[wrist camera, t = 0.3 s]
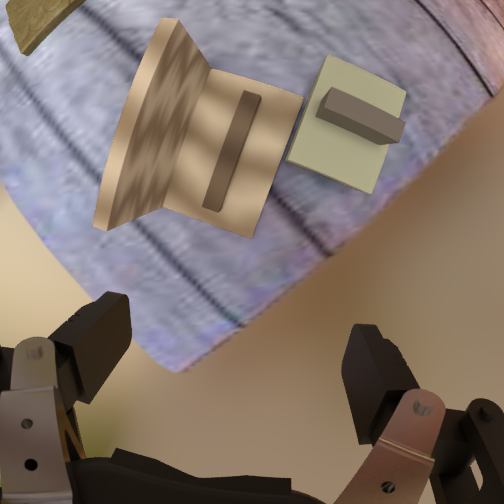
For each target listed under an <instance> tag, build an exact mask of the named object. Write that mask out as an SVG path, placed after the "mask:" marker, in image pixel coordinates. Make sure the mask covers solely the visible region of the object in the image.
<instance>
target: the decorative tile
mask: <svg viewBox="0 0 504 504" xmlns="http://www.w3.org/2000/svg"><path fill="white" fill-rule="evenodd" d="M84 1H86V0H10V1H9V2H8V3H7V4H6V10H7V14H8V17H9V19H8V20H9V24H10V27H11V29H12V31H13V33H14V38H15V41H16V43H17V44H18V47H19V50H20V52H21V54H24V55H26V56H29V55H30V54H31V53H32V52H33V51H34V50H35V49H36V47H37V46H38V45H39V44H40V43H41V42H42V41H43V40H44V39H45V38H46V37H47V36H48V35H49V34H50V33H51V32H52V31H53V30H54V29H55V28H56V27H57V26H58V25H59V24H60V23H61V22H62V21H63V20H64V19H65V18H66V17H67V16H68V15H69V14H71V13H72V12H73V11H74V10H75V9H76V8H77V7H78V6H80V5H81V4H82V3H83V2H84Z"/></svg>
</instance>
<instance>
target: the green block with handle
mask: <svg viewBox="0 0 504 504" xmlns="http://www.w3.org/2000/svg"><path fill="white" fill-rule="evenodd" d="M405 96H406V91H404V90H402V89H401V88H399V87H397V86H395V85H393V84H391V83H389V82H387V81H386V80H384V79H382V78H380V77H378V76H376V75H374V74H371V73H369V72H367V71H365V70H363V69H361V68H359V67H357V66H354V65H352V64H350V63H347V62H345V61H343V60H340V59H338V58H336V57H333V56H331V55H328V54H327V56H326V58H325V60H324V62H323V64H322V66H321V68H320V70H319V72H318V74H317V76H316V79H315V82H314V84H313V87H312V90H311V92H310V95H309V98H308V100H307V103H306V106H305V108H304V111H303V114H302V116H301V119H300V121H299V124H298V127H297V129H296V132H295V135H294V137H293V140H292V143H291V145H290V148H289V151H288V153H287V156H286V159H285V161H286V162H289V163H291V164H294V165H296V166H299V167H302V168H304V169H309V170H311V171H314V172H316V173H319V174H321V175H323V176H326V177H328V178H331V179H333V180H335V181H336V182H338V183H341V184H343V185H345V186H347V187H350V188H352V189H355V190H358V191H361V192H364V193H368V194H372V192H373V189H374V186H375V184H376V181H377V178H378V176H379V173H380V170H381V168H382V165H383V162H384V159H385V157H386V154H387V151H388V148H389V145H390V144H393V143H399V141H400V138H401V135H402V132H403V129H404V126H405V123H406V122H404V121H402V120H400V119H399V115H400V112H401V109H402V106H403V102H404V99H405Z"/></svg>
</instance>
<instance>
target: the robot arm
mask: <svg viewBox="0 0 504 504" xmlns="http://www.w3.org/2000/svg"><path fill="white" fill-rule="evenodd" d="M131 338H132V328H131V318H130V306H129V298H128V296H127V295H125V294H120V293H115V292H109V291H107V292H106V293H104V294H103V295H102V296H101V297H100V298H99V299H98V300H97V301H95V302H92V303H89V304H87V305H85V306H83V307H81V308H80V309H79V310H78V311H77V312H76V313H75V314H74V315H72V316H71V317H70V318H69V319H68V321H65V322H64V323H63V324H62V325H61V326H60V327H59V328H58V329H56V331H54V332H53V333H52V334H51V335H50V336H49V337H48V338H44V337H31V338H28V339H25V340H23V341H21V342H20V343H19V344H18V345H17V346H16V347H15V348H8V347H1V346H0V474H1V485H2V487H0V504H326V503H324V502H322V501H320V500H319V499H317V498H315V497H312V496H310V495H308V494H305V493H302V492H299V491H295V490H291V478H274V477H259V476H248V475H244V476H232V477H215V478H197V477H194V476H192V475H189V474H187V473H184V472H182V471H180V470H178V469H175V468H173V467H171V466H169V465H167V464H165V463H163V462H160V461H158V460H156V459H153V458H150V457H146V456H142V455H139V454H135V453H132V452H128V451H125V450H122V449H119V448H116V449H115V451H114V453H113V455H112V457H111V458H109V457H94V458H87V456H86V454H85V450H84V447H83V443H82V439H81V435H80V431H79V426H78V422H77V417H76V412H75V409H74V406H73V405H74V403H75V402H76V400H78V401H81V402H84V403H86V404H90V403H91V401H92V400H93V398H94V397H95V395H96V394H97V392H98V391H99V389H100V388H101V386H102V385H103V384H104V382H105V381H106V379H107V378H108V376H109V375H110V373H111V372H112V371H113V369H114V368H115V366H116V365H117V363H118V362H119V360H120V359H121V358H122V356H123V355H124V353H125V352H126V351H127V349H128V348H129V346H130V343H131ZM341 370H342V371H341V372H342V379H343V382H344V386H345V390H346V394H347V397H348V401H349V405H350V409H351V413H352V417H353V421H354V425H355V429H356V433H357V438H358V442H359V445H363V444H372V446H373V449H372V450H371V452H370V453H369V455H368V457H367V458H366V460H365V461H364V463H363V464H362V466H361V467H360V468H359V470H358V471H357V473H356V474H355V476H354V477H353V478H352V480H351V481H350V483H349V484H348V485H347V487H346V488H345V489H344V491H343V492H342V493H341V495H340V496H339V497H338V499H337V500H336V501H335V502H334V503H333V504H418V502H419V499H420V497H421V495H422V493H423V490H424V488H425V486H426V483H427V481H428V479H430V482H431V486H432V489H433V493H434V497H435V501H436V504H504V413H503V411H502V410H501V408H500V407H499V406H498V405H497V404H496V403H494V402H492V401H490V400H488V399H483V398H478V399H475V400H473V401H472V402H471V403H470V404H469V406H468V407H467V409H466V411H461V410H453V409H446V408H445V404H444V403H443V401H442V400H441V398H440V397H439V396H437V395H436V394H434V393H433V392H430V391H427V390H424V389H420V387H419V385H418V383H417V381H416V379H415V377H414V376H413V374H412V372H411V370H410V368H409V367H408V366H407V363H406V361H405V360H404V358H402V354H401V352H400V351H399V349H398V347H397V346H396V345H394V344H393V343H392V342H391V341H390V340H388V339H384V338H383V337H382V335H381V333H380V331H379V329H378V328H377V326H376V325H372V324H371V325H370V324H354V326H353V328H352V330H351V334H350V337H349V341H348V344H347V347H346V351H345V354H344V358H343V361H342V369H341ZM475 459H476V461H477V464H478V466H479V469H480V471H481V474H482V476H483V484H482V487H481V489H480V491H479V488H478V485H477V483H476V480H475V477H474V475H473V472H472V470H471V467H470V465H471V463H472V462H474V460H475Z"/></svg>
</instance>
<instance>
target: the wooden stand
mask: <svg viewBox="0 0 504 504" xmlns="http://www.w3.org/2000/svg"><path fill="white" fill-rule="evenodd" d="M303 99H304V97H302V96H299V95H297V94H294V93H291V92H288V91H285V90H283V89H280V88H277V87H274V86H271V85H268V84H265V83H262V82H258V81H255V80H252V79H249V78H245V77H242V76H238V75H235V74H231V73H227V72H224V71H220V70H216V69H212V68H211V67H210V65H209V64H208V62H207V61H206V59H205V58H204V56H203V55H202V53H201V52H200V50H199V49H198V47H197V46H196V44H195V43H194V41H193V40H192V38H191V37H190V35H189V34H188V32H187V31H186V29H185V28H184V27H183V25H182V24H181V22H180V21H179V19H172V18H163V17H162V18H161V20H160V22H159V24H158V26H157V28H156V30H155V32H154V34H153V37H152V39H151V41H150V43H149V45H148V47H147V50H146V52H145V54H144V56H143V59H142V61H141V63H140V66H139V68H138V71H137V73H136V76H135V78H134V81H133V83H132V86H131V88H130V91H129V94H128V96H127V99H126V102H125V105H124V108H123V110H122V113H121V116H120V119H119V122H118V125H117V129H116V132H115V135H114V138H113V142H112V145H111V148H110V152H109V155H108V159H107V163H106V166H105V170H104V174H103V178H102V182H101V186H100V191H99V195H98V199H97V204H96V209H95V214H94V219H93V224H92V226H94V227H97V228H99V229H102V230H104V231H109V230H111V229H113V228H115V227H117V226H120V225H122V224H124V223H126V222H129V221H131V220H133V219H136V218H138V217H140V216H142V215H145V214H147V213H149V212H152V211H154V210H157V209H159V208H161V207H164V208H167V209H170V210H173V211H176V212H178V213H181V214H184V215H187V216H190V217H192V218H195V219H198V220H201V221H204V222H206V223H209V224H212V225H215V226H217V227H220V228H223V229H226V230H228V231H231V232H234V233H237V234H240V235H242V236H245V237H248V238H252V235H253V233H254V230H255V227H256V225H257V222H258V219H259V217H260V214H261V211H262V209H263V206H264V203H265V200H266V198H267V195H268V192H269V190H270V187H271V184H272V182H273V179H274V176H275V174H276V171H277V168H278V166H279V163H280V160H281V158H282V155H283V152H284V150H285V147H286V144H287V142H288V139H289V137H290V134H291V131H292V129H293V126H294V123H295V121H296V118H297V115H298V113H299V110H300V107H301V105H302V102H303Z"/></svg>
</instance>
